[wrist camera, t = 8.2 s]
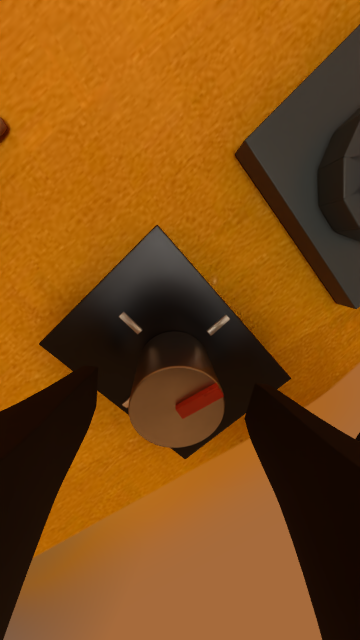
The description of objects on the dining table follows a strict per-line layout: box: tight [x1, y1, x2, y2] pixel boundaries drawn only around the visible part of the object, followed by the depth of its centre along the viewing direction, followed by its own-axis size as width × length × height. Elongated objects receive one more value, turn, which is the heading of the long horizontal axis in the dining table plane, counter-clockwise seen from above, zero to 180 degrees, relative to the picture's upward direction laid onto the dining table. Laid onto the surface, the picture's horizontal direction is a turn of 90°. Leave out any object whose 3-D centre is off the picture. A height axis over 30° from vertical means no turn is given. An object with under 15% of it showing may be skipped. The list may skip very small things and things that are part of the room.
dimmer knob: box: [128, 331, 225, 448], centre depth 11 cm, size 4×4×4 cm
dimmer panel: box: [39, 225, 291, 459], centre depth 14 cm, size 12×9×3 cm
